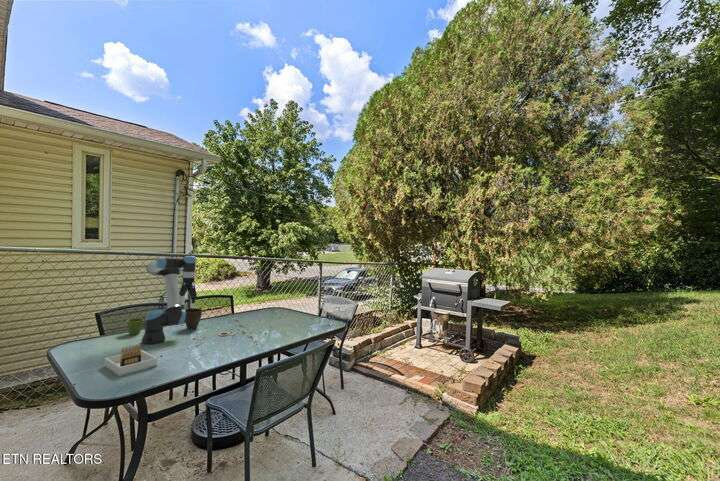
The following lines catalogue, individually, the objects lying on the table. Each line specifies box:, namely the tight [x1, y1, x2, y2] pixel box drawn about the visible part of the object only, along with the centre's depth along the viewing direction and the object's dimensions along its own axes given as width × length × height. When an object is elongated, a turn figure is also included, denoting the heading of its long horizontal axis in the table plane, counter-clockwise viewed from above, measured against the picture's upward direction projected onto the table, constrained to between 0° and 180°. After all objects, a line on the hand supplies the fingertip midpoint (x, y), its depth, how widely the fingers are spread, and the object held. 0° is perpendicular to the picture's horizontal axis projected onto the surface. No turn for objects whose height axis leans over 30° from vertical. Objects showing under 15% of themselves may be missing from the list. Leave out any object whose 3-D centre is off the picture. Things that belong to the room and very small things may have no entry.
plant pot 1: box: [126, 317, 145, 336], centre depth 256 cm, size 12×12×11 cm
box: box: [103, 349, 158, 377], centre depth 195 cm, size 22×20×5 cm
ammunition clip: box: [120, 343, 142, 367], centre depth 195 cm, size 11×2×12 cm, turn 146°
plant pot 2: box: [184, 308, 203, 330], centre depth 278 cm, size 15×15×16 cm
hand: (187, 306), depth 230 cm, fingers open, 13 cm apart
